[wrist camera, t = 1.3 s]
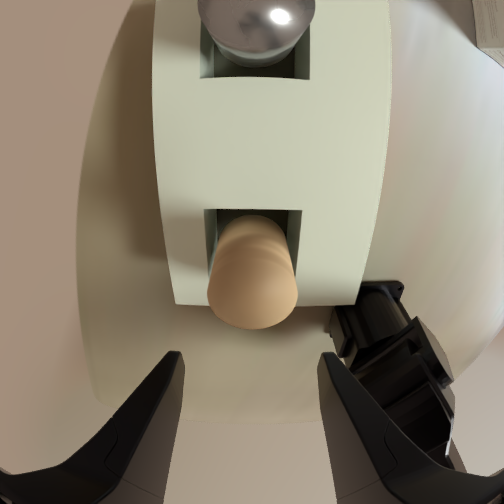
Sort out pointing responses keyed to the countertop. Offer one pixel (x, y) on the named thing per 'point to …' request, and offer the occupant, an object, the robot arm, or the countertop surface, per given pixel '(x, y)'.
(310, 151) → the socket block
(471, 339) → the countertop surface
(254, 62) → the steel peg
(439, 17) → the countertop surface
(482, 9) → the supplement box
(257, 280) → the oak peg
